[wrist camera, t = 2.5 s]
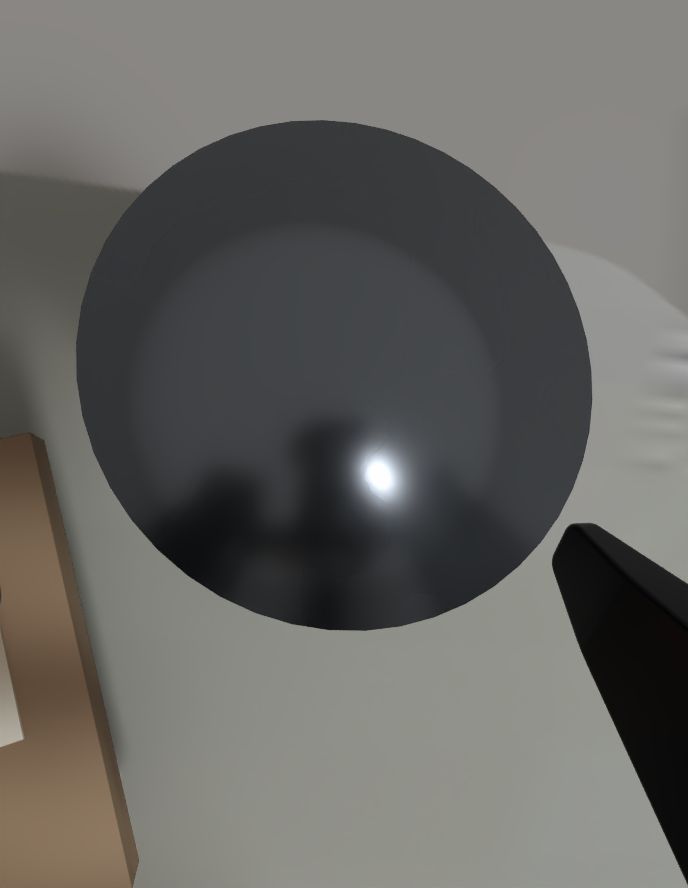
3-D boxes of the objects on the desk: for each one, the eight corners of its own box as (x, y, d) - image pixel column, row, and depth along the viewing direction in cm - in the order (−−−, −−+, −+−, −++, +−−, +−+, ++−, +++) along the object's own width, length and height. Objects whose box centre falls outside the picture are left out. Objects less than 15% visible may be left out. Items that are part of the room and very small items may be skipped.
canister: (358, 540, 18) (655, 540, 6) (199, 587, 17) (151, 714, 5) (317, 389, 19) (508, 99, 7) (159, 425, 18) (21, 148, 5)
